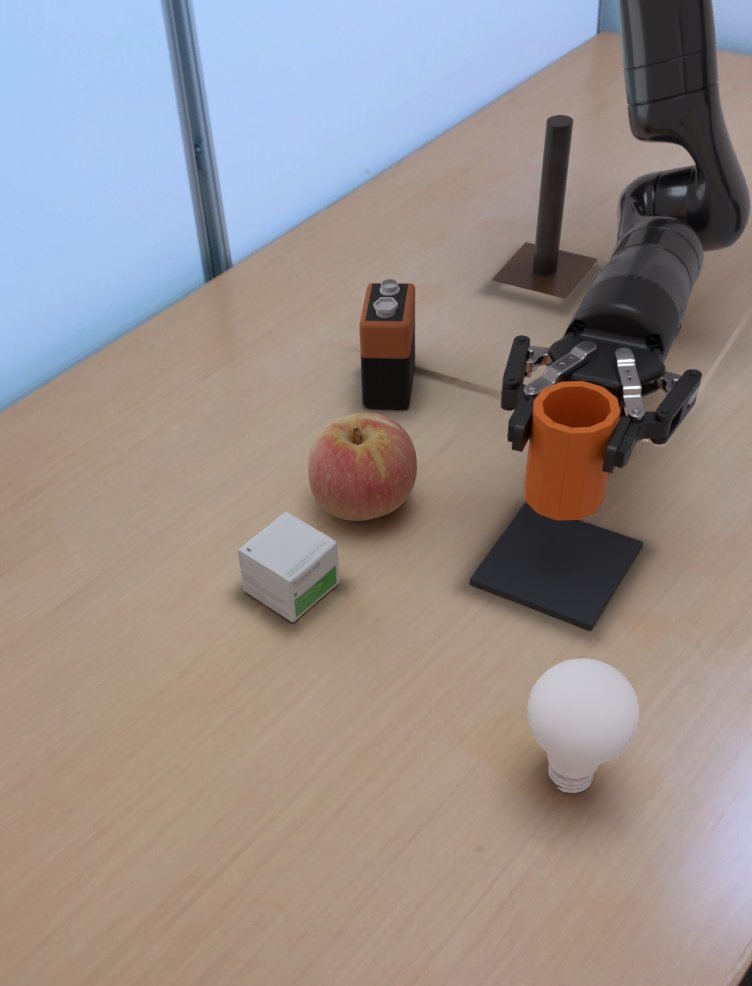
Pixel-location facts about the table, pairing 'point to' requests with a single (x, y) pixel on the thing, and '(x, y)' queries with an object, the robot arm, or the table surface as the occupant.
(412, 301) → the battery
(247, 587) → the small box
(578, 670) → the light bulb
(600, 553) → the mat
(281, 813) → the table surface
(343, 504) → the apple
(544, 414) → the tube
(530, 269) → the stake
